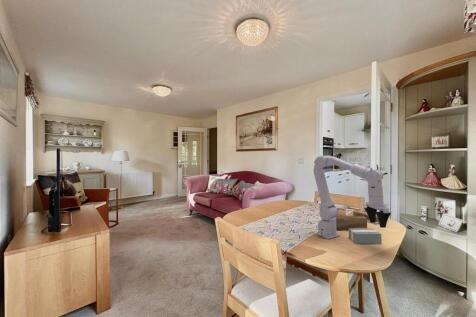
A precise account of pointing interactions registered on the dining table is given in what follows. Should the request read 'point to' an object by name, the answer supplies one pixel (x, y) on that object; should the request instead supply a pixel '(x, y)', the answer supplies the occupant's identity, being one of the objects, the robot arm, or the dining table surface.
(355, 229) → the carton
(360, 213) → the packaged product
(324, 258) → the dining table surface
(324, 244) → the dining table surface
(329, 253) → the dining table surface
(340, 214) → the plant pot
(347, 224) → the display podium
